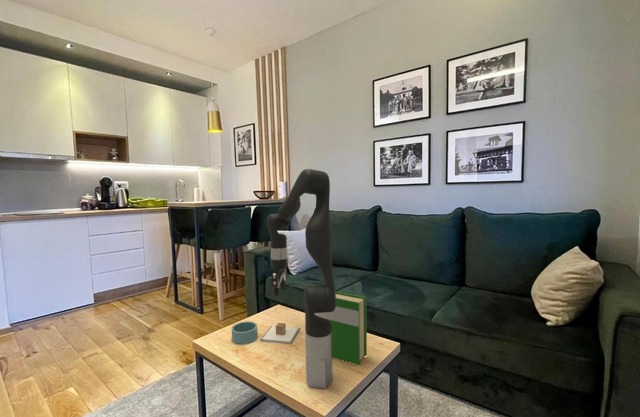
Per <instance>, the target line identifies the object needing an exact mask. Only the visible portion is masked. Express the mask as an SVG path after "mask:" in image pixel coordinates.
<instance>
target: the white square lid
mask: <svg viewBox="0 0 640 417" xmlns="http://www.w3.org/2000/svg"><path fill="white" fill-rule="evenodd" d="M271 326H272V327H271ZM271 326H270V327H271V328H270V327H269V328H270V330H269V329H268V330H269V331H268V330H267V331H268V332H267V331H266V332H267V333H266V332H265V333H266V335H265V334H264V335H265V336H264V335H263V336H264V337H263V336H262V337H263V338H262V337H261V338H262V340H265V341H275V342H286V343H290V342H291V341H292V339H293V337H294V336H295V334H296V332H297V331H298V328H299V327H292V326H286V323H285V322H277V324H276V325H271Z"/></svg>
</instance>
